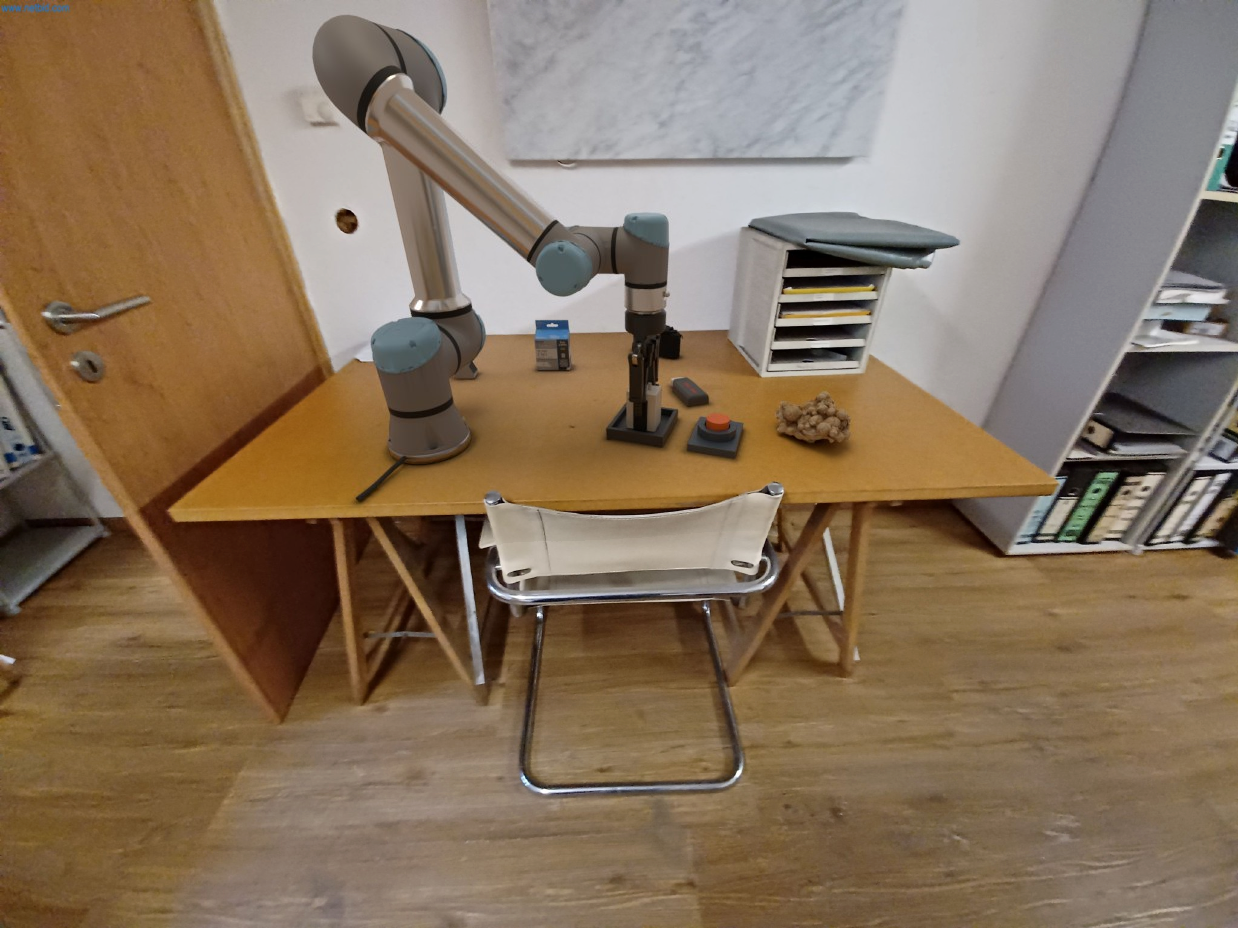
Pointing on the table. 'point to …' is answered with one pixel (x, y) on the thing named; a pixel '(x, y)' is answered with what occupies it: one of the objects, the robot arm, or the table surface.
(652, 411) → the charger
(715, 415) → the button
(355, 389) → the table surface
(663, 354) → the film camera
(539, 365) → the label tape box
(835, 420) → the mineral formation
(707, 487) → the table surface
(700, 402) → the usb drive
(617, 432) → the cradle
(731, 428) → the switch block
